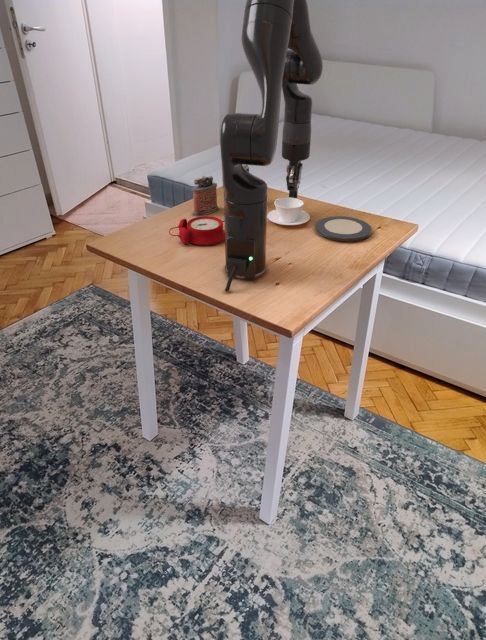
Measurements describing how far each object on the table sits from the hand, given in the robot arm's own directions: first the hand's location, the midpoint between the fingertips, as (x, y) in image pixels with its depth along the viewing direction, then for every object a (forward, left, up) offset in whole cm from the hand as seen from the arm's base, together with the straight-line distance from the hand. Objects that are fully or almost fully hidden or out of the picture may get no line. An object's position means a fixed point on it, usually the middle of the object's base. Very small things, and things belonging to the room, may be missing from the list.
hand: (292, 202), depth 138 cm
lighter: (-5, +25, -3) cm, 25 cm away
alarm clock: (-23, +21, -3) cm, 31 cm away
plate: (-9, -15, -3) cm, 18 cm away
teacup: (-6, 0, -3) cm, 7 cm away
